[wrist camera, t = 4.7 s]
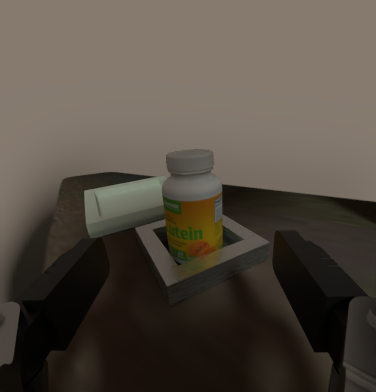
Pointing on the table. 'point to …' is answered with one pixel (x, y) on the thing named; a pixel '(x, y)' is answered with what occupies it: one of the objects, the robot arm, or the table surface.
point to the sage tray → (123, 206)
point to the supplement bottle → (192, 205)
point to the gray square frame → (200, 259)
